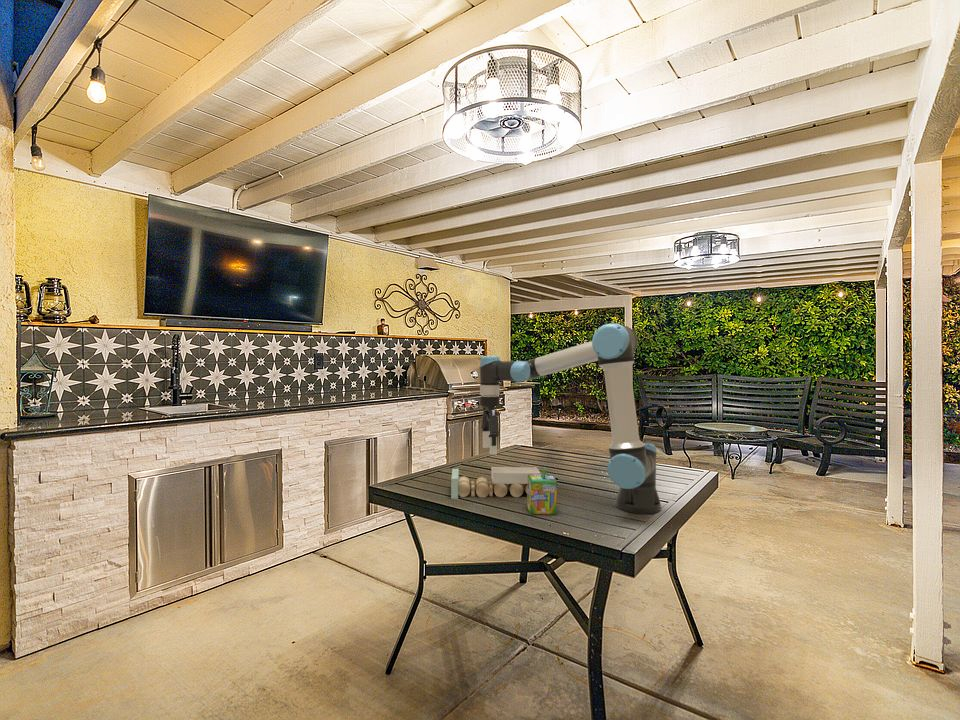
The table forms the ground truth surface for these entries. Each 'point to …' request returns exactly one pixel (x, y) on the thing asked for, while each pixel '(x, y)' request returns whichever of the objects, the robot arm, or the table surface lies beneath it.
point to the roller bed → (490, 488)
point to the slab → (512, 474)
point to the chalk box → (542, 493)
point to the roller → (482, 487)
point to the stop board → (454, 483)
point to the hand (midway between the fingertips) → (489, 451)
